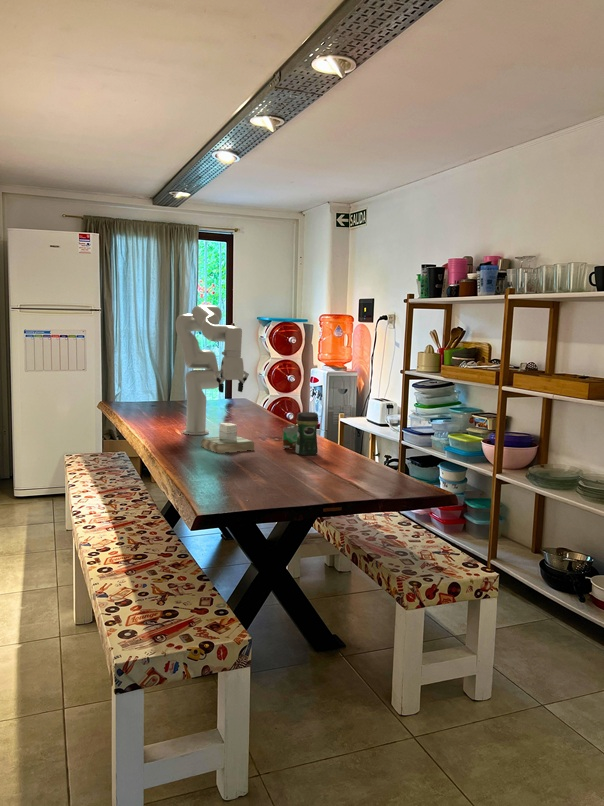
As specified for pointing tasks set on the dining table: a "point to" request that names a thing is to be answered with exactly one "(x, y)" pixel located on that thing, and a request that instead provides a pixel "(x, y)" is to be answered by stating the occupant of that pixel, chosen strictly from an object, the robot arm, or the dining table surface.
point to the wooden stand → (227, 444)
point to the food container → (290, 436)
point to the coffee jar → (307, 433)
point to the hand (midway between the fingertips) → (230, 391)
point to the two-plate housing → (228, 432)
